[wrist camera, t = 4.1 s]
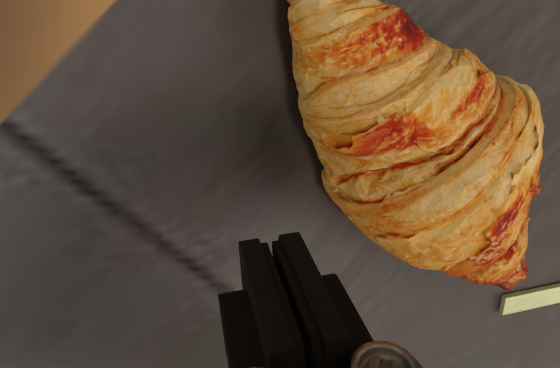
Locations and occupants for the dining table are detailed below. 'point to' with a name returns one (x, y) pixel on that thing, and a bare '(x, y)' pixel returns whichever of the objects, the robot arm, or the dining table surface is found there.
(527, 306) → the frame
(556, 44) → the dining table surface
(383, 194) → the croissant
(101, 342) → the dining table surface
